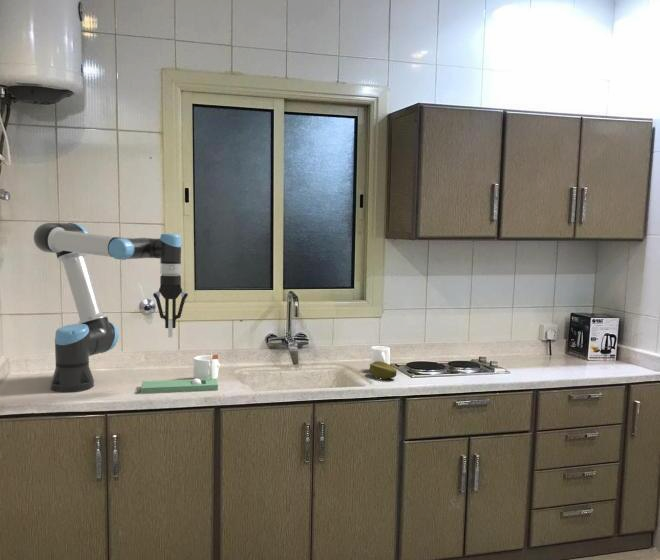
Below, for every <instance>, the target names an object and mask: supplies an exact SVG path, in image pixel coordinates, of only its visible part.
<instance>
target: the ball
mask: <svg viewBox="0 0 660 560" xmlns="http://www.w3.org/2000/svg"><path fill="white" fill-rule="evenodd" d="M193 379H194V378H193ZM192 384H201V381H200V379H197V378H196V379H194V380H193V381H192Z"/></svg>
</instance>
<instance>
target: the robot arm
mask: <svg viewBox="0 0 660 560" xmlns="http://www.w3.org/2000/svg"><path fill="white" fill-rule="evenodd" d="M33 241H34V244H35V246H36V247H37V249H39V250H40V251H42V252H45V253H53V254H55V255H56V258H57V261H59V262H62V264H63V267H64V271H65V274H66V277H67V281H68V283H69V287H70V291H71V294H72V297H73V301H74V304H75V308H76V311H77V315H78V318H79V321H77V323H73V324H66V325H63V326H60V327H59V328H57V329H56V331H55V334H54V352H55V353H54V354H55V357H54V358H55V370H54V372H53V375H52V379H51V381H50V390H52V392H53V391H54V392H60V393H73V392H81V391H86V390H89V389H92V388H94V386H95V379H94V376H93V374H92V371H91V369H90V364H89V363H90V357H92V356H94V355H98V354H104V353H106V352H108V351H111V350H113V349H114V348H115V346H117V342H118V340H119V329H118V328H117V326H116V325H115V324H114V323H112V322H110V321H109V319H108V316H107V315H105V314H104V313H102V308H101V305H100V303H99V299H98V295H97V292H96V289H95V285H94V283H93V281H94V280H93V279H92V276H91V272H90V268H89V265H88V262H87V255H95V256H103V257H109V258H113V259H114V260H119V261H120V260H121V261H123V260H124V261H126V260H133V259H134V260H135V259H136V260H137V259H160V263H159V264H160V278H159V279H160V280H159V281H160V283H159V284H160V287H159V289H158V290H157V291H156V292H154V293H153V294H152V295H153V297H154V299H155V302H156V305H157V309H158V312H159V313H158V314H159V317H160V318H161V319H163V320H164V321H165V322H164V324H165V325H164V328H165V329H168V333H167V335H168V338H173V329H176V325H177V324H176V322H177V320H178V319H180V318H181V317H182V312H183V308H184V305H185V303H186V302H185V301H186V299H187V298H188V295H189V294H188V293H187V292H185V291H184V290H183V288H182V276H181V275H180V274H181V273H182V236H181V235H180V234H179V233H161V234H160V238H151V237H137V238H133V237H132V238H130V237H120V236H109V235H102V234H93V233H89V232H88V229H86V228H85V227H84V226H82V225H81V224H79V223H74V222H73V223H72V222H67V223H65V222H61V223H60V222H47V223H46V222H45V223H43V224H41V225H39V226H38V227H37V228H36V229H35V230H34V233H33ZM161 296H162V298H163V299H164V300H165V302H164V303H165V307H164V312H165V313H164V312H163V307H162V303H161V299H160V297H161ZM179 296H181V301H180V302H179V303H180V304H179V308H178V311H176V309H177V308H176V305H177V302H176V301H177V299H178V297H179ZM170 300H172V303H171V305H172V306H171V307H172V314H171V315H172V317H171V318H170V317H169V314H170V313H169V309H170V308H169V306H170ZM176 313H177V314H176ZM169 318H170V319H169Z"/></svg>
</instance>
